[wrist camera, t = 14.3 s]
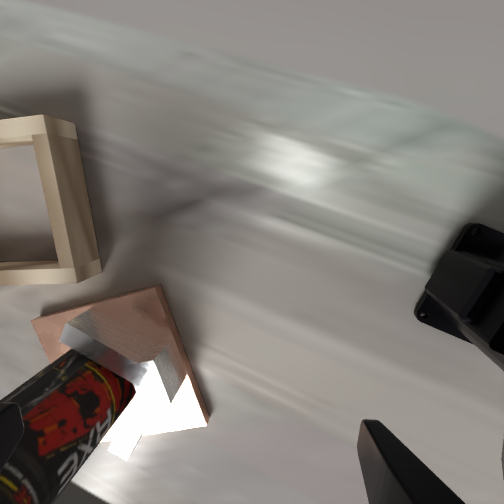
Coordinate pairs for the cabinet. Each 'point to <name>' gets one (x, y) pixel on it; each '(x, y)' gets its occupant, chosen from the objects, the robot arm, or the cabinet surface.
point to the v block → (132, 361)
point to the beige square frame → (55, 202)
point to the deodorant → (60, 426)
